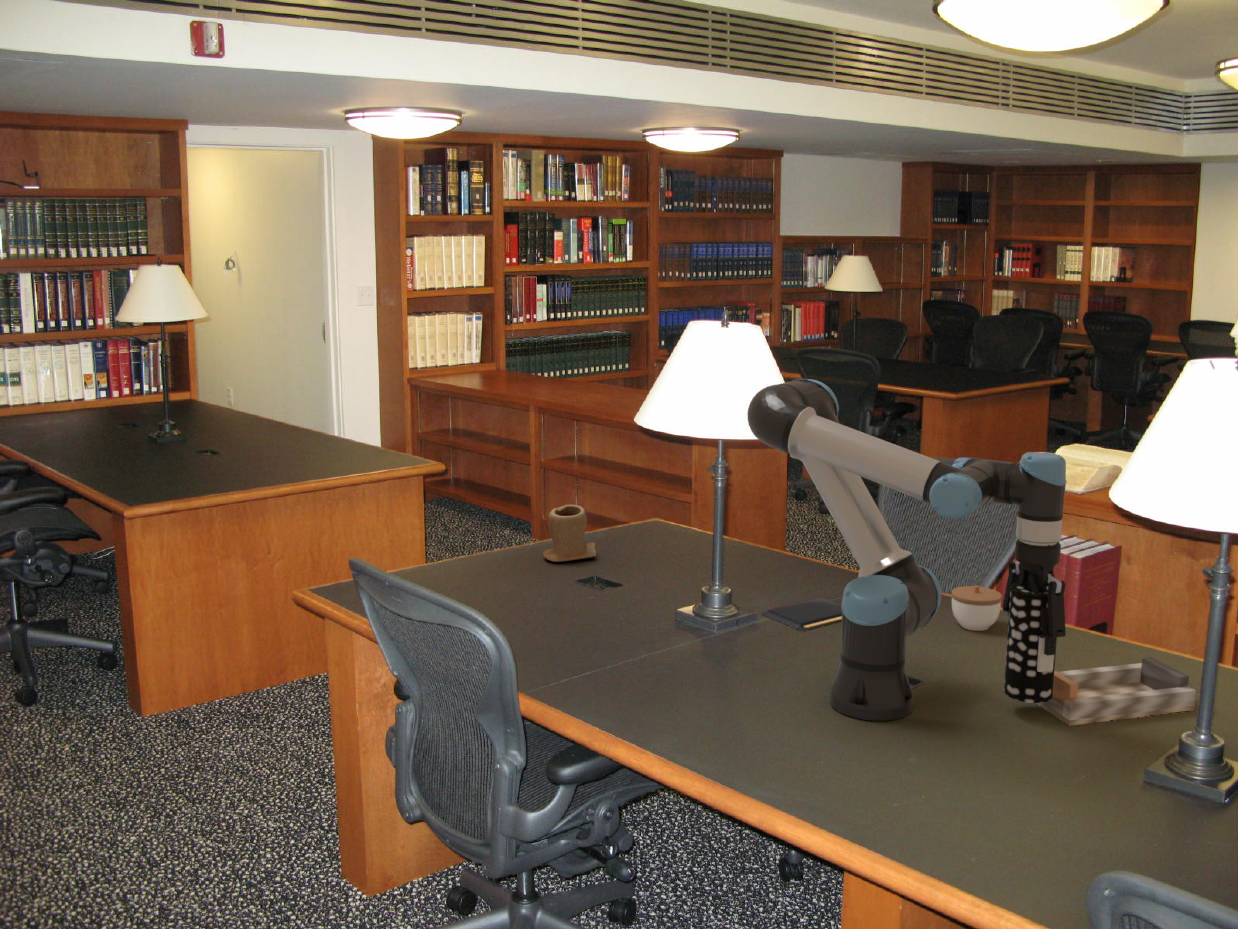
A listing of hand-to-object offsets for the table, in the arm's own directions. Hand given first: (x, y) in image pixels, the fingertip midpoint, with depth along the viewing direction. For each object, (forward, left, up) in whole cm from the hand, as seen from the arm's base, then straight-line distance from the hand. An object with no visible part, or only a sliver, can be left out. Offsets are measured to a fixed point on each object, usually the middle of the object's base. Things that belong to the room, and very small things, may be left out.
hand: (1030, 661), depth 201 cm
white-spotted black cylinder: (0, 0, -7) cm, 7 cm away
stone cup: (-61, +119, -10) cm, 134 cm away
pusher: (+6, 0, -9) cm, 11 cm away
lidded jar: (+16, +44, -10) cm, 48 cm away
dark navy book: (-16, +60, -11) cm, 63 cm away
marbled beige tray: (+17, 0, -10) cm, 20 cm away
